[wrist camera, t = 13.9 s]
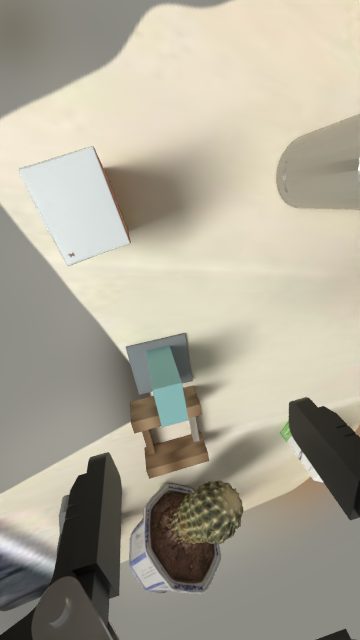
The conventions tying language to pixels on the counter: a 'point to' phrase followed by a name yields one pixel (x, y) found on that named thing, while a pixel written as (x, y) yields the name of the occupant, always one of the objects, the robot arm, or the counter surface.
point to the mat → (141, 362)
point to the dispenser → (173, 451)
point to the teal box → (166, 386)
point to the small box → (76, 204)
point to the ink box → (299, 453)
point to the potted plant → (183, 536)
